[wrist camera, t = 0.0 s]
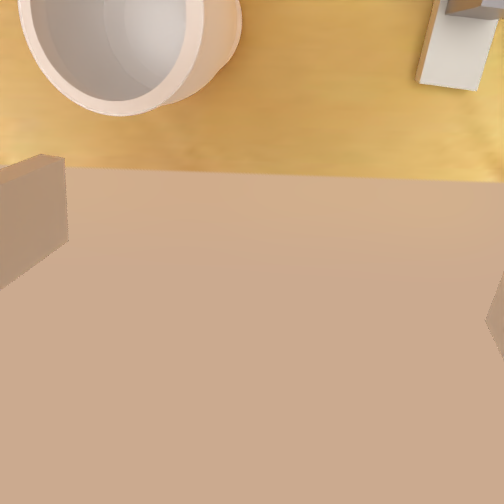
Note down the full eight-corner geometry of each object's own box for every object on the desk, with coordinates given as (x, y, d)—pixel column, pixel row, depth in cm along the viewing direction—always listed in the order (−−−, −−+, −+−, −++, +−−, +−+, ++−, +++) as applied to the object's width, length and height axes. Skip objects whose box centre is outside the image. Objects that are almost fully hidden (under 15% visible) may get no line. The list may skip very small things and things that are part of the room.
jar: (161, -84, 36) (47, -158, 22) (280, -11, 36) (239, -40, 23) (112, 51, 40) (-7, 58, 27) (219, 114, 41) (154, 152, 27)
